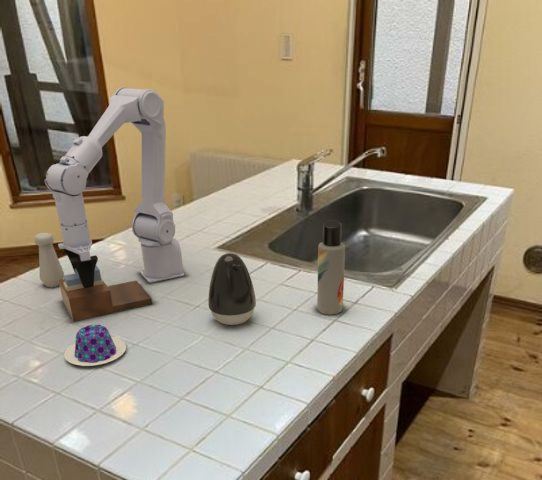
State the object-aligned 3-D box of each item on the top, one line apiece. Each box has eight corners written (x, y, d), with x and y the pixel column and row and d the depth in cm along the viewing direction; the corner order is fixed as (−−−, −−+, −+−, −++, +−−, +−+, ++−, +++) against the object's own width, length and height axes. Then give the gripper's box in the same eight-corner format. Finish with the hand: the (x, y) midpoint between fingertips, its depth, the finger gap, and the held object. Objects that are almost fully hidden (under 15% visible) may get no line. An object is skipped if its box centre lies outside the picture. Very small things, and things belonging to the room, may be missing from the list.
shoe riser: (137, 286, 150) (134, 265, 147) (152, 304, 141) (149, 282, 138) (63, 301, 143) (58, 280, 140) (73, 321, 134) (68, 298, 131)
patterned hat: (65, 344, 125) (60, 321, 122) (124, 335, 127) (120, 313, 125) (64, 373, 115) (59, 349, 112) (129, 363, 117) (125, 339, 115)
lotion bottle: (345, 305, 137) (348, 219, 127) (339, 316, 133) (342, 227, 123) (320, 302, 139) (322, 217, 129) (314, 313, 134) (315, 225, 124)
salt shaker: (58, 289, 149) (47, 238, 143) (37, 288, 150) (25, 237, 144) (69, 280, 154) (59, 230, 148) (49, 279, 155) (38, 229, 149)
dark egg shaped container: (221, 335, 127) (216, 266, 119) (202, 316, 135) (197, 250, 127) (265, 324, 130) (262, 257, 123) (244, 306, 138) (241, 242, 131)
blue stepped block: (99, 279, 140) (96, 264, 138) (103, 284, 138) (100, 269, 136) (64, 286, 137) (61, 271, 135) (67, 291, 134) (64, 276, 133)
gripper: (48, 216, 134) (60, 273, 141) (60, 234, 123) (73, 296, 130) (80, 211, 137) (91, 268, 144) (95, 229, 126) (106, 289, 133)
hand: (84, 281), depth 137 cm, fingers open, 7 cm apart
